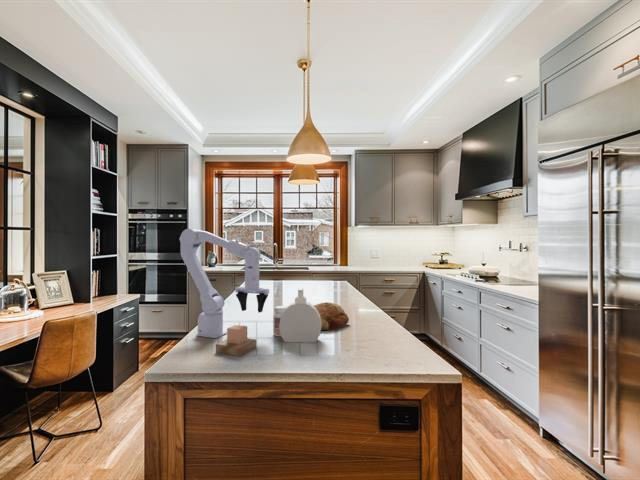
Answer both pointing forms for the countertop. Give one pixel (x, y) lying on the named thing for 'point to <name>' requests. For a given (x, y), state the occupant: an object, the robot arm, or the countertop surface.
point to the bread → (331, 316)
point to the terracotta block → (237, 334)
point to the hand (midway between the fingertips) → (252, 311)
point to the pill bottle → (278, 319)
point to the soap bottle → (300, 321)
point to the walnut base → (235, 347)
